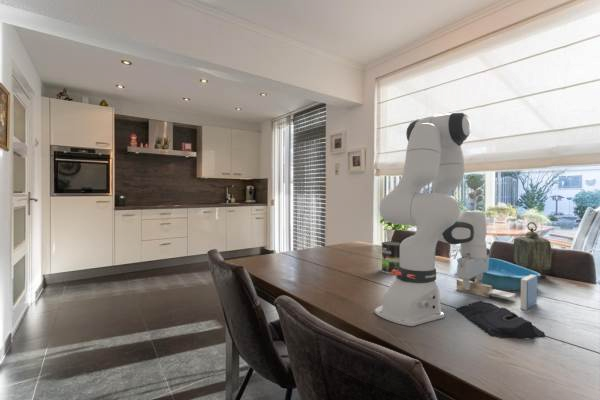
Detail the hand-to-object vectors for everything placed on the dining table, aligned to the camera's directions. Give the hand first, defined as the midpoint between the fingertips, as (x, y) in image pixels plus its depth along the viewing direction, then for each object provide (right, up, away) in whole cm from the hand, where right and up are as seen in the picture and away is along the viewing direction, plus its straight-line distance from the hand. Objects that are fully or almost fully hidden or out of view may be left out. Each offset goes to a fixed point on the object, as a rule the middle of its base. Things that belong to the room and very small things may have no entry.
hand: (472, 286), depth 121 cm
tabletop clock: (+41, -2, +25) cm, 48 cm away
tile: (+11, -3, -15) cm, 19 cm away
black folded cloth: (-9, -4, -28) cm, 29 cm away
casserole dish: (+19, -2, +16) cm, 25 cm away
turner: (+2, -2, -4) cm, 5 cm away
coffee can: (-22, -2, +32) cm, 39 cm away
